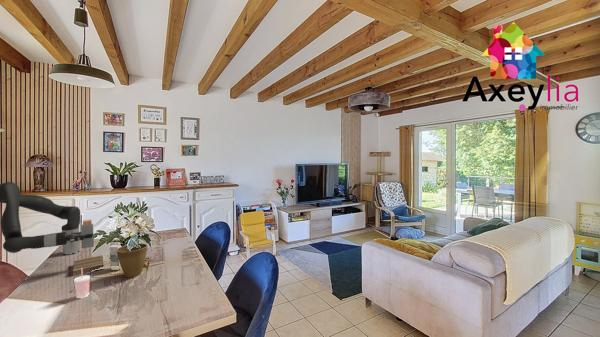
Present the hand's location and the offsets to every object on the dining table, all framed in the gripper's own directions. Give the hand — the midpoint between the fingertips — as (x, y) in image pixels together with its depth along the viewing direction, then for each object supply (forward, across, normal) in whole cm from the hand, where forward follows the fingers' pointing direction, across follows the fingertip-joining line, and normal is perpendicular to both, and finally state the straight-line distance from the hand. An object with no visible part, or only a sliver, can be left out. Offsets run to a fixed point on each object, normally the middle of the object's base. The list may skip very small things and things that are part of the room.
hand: (92, 234), depth 161 cm
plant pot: (+18, -30, +20) cm, 40 cm away
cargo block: (-3, 0, -5) cm, 6 cm away
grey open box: (-3, 0, +7) cm, 7 cm away
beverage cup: (-4, -42, +20) cm, 47 cm away
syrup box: (+12, -14, +20) cm, 27 cm away
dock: (-2, 0, +20) cm, 20 cm away
